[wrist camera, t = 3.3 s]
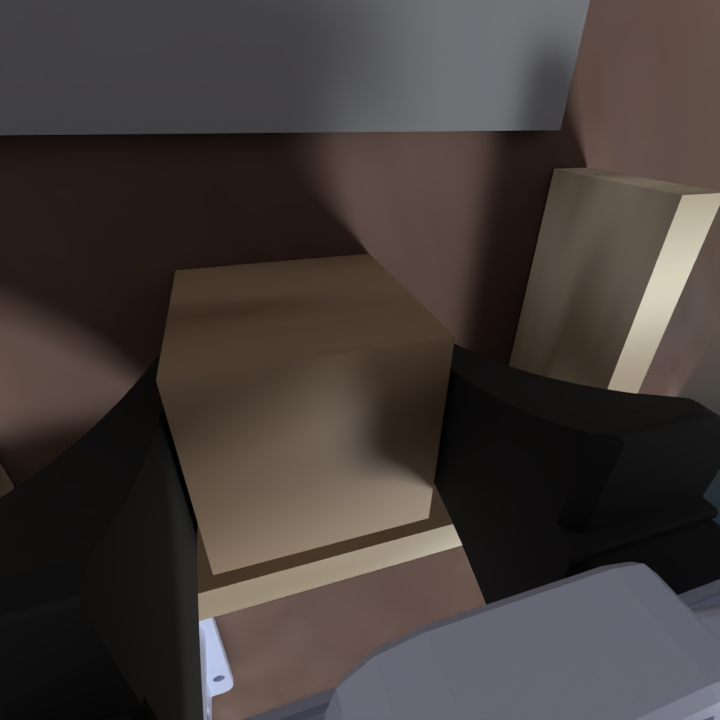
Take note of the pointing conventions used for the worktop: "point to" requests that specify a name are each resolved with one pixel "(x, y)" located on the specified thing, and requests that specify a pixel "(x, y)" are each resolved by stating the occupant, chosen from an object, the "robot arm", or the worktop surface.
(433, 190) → the worktop surface
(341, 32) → the rubber mat
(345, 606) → the worktop surface
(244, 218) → the worktop surface
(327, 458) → the wooden cube
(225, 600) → the beige angled piece
